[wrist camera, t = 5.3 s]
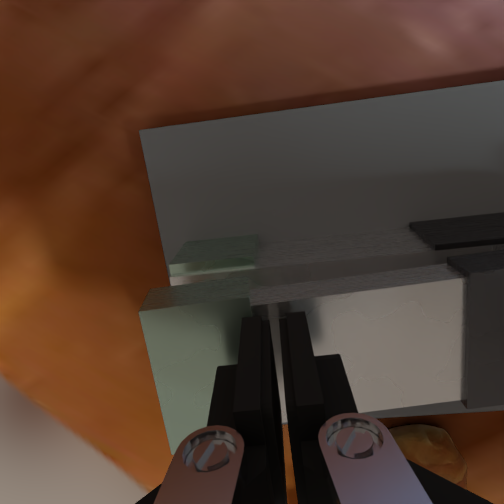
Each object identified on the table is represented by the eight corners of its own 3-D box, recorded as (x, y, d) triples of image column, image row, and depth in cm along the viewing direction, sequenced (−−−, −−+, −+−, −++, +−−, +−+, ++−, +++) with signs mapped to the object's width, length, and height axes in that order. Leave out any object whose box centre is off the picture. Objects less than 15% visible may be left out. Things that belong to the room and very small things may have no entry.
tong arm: (678, 218, 13) (737, 232, 11) (653, 358, 14) (703, 387, 13) (150, 288, 13) (138, 311, 12) (178, 419, 15) (171, 454, 13)
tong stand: (767, 156, 15) (1011, 179, 10) (730, 317, 17) (920, 404, 12) (182, 223, 17) (141, 269, 12) (207, 359, 19) (181, 448, 14)
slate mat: (777, 42, 15) (811, 37, 14) (703, 382, 19) (724, 396, 18) (146, 129, 17) (138, 130, 16) (203, 415, 22) (199, 429, 21)
